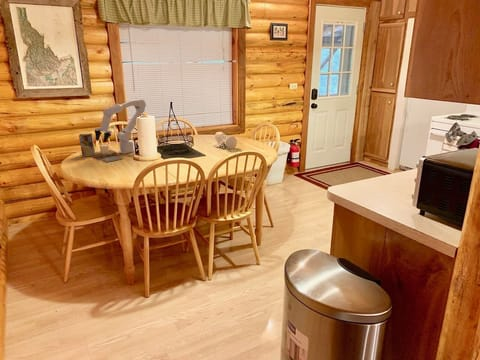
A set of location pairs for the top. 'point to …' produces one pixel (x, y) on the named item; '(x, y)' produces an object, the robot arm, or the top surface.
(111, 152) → the walnut square frame
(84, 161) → the top surface
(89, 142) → the coffee box
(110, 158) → the slate mat
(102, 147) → the cream block
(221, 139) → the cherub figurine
